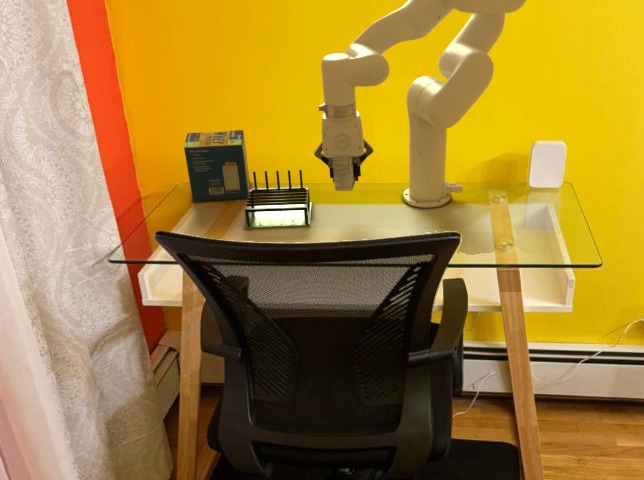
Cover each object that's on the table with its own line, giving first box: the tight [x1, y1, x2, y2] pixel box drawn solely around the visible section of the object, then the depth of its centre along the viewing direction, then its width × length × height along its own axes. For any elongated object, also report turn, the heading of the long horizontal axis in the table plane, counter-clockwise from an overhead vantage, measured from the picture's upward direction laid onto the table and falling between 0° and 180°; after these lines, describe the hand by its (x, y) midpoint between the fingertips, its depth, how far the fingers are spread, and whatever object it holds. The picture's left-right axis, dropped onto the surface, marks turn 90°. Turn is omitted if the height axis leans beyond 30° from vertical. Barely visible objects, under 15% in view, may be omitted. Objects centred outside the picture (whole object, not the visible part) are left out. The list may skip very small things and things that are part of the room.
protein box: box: [183, 129, 251, 203], centre depth 213 cm, size 10×15×16 cm
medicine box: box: [333, 156, 356, 192], centre depth 197 cm, size 8×4×9 cm, turn 171°
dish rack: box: [244, 169, 312, 230], centre depth 202 cm, size 16×13×10 cm
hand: (345, 178), depth 199 cm, fingers closed on medicine box, 5 cm apart
